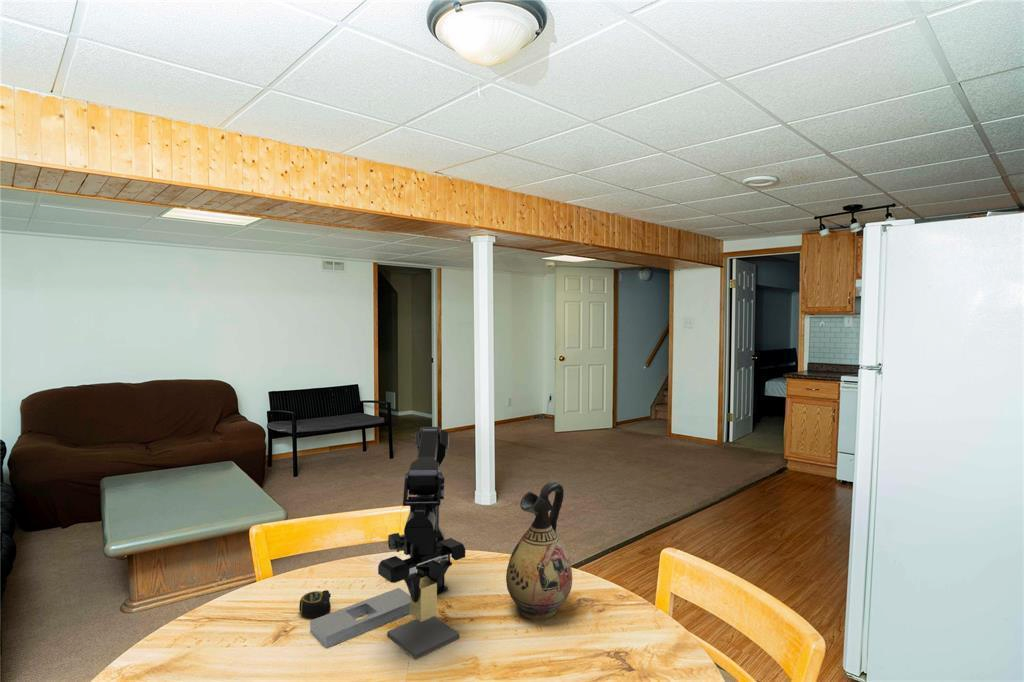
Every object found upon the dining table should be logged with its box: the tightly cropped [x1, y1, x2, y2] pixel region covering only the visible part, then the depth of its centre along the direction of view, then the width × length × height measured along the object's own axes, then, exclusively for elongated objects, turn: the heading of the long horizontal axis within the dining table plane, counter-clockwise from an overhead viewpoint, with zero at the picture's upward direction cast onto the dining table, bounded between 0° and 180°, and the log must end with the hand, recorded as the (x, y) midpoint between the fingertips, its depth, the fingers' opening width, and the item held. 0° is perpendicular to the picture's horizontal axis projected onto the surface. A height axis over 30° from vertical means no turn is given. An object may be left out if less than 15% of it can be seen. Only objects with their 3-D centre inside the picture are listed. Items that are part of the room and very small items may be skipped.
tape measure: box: [298, 589, 332, 618], centre depth 127 cm, size 7×7×4 cm
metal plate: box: [309, 587, 411, 649], centre depth 124 cm, size 22×8×2 cm, turn 133°
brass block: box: [409, 576, 438, 622], centre depth 117 cm, size 4×4×7 cm
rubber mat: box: [386, 616, 461, 660], centre depth 118 cm, size 11×11×1 cm
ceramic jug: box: [505, 481, 573, 621], centre depth 129 cm, size 17×15×30 cm
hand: (423, 598), depth 117 cm, fingers closed on brass block, 4 cm apart
